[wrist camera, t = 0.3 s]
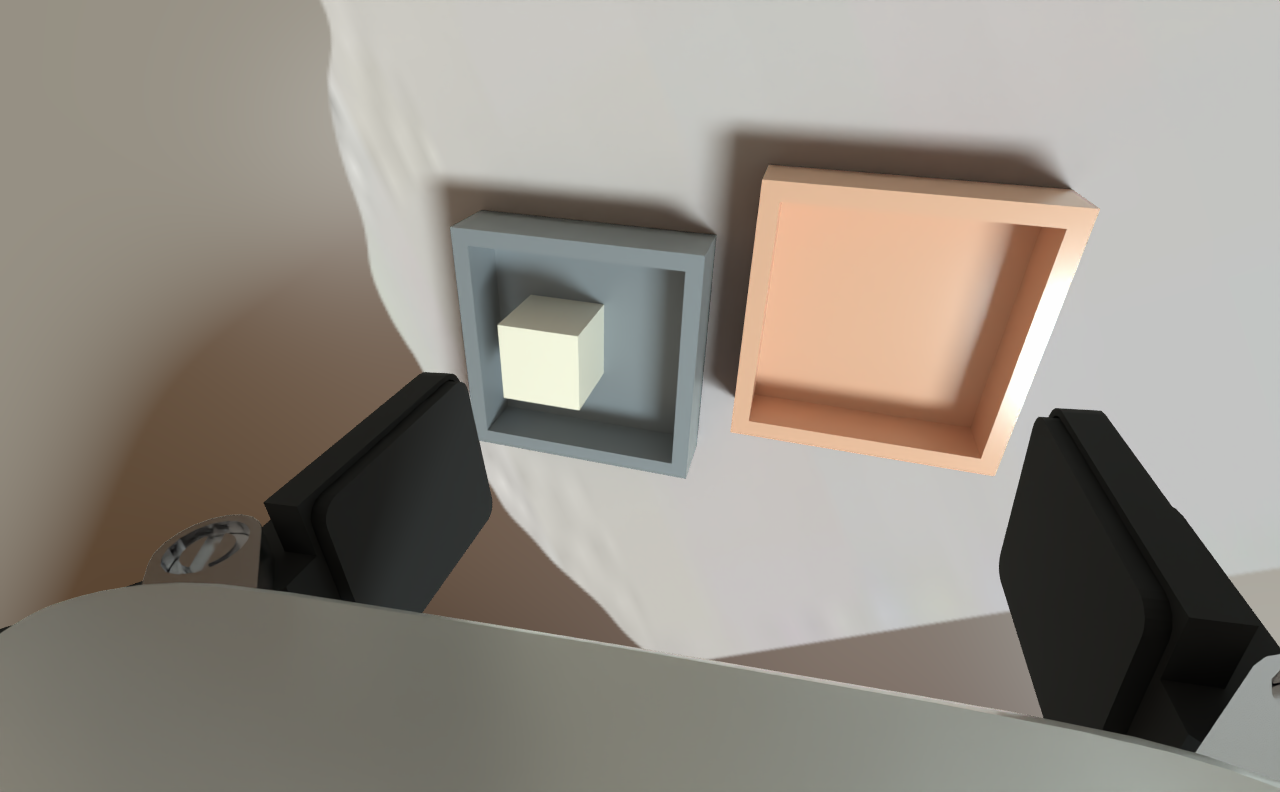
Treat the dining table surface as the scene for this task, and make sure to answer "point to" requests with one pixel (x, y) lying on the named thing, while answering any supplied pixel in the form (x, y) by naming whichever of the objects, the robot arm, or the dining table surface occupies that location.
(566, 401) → the stone block
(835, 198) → the tub
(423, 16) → the dining table surface
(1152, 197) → the dining table surface
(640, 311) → the bin
